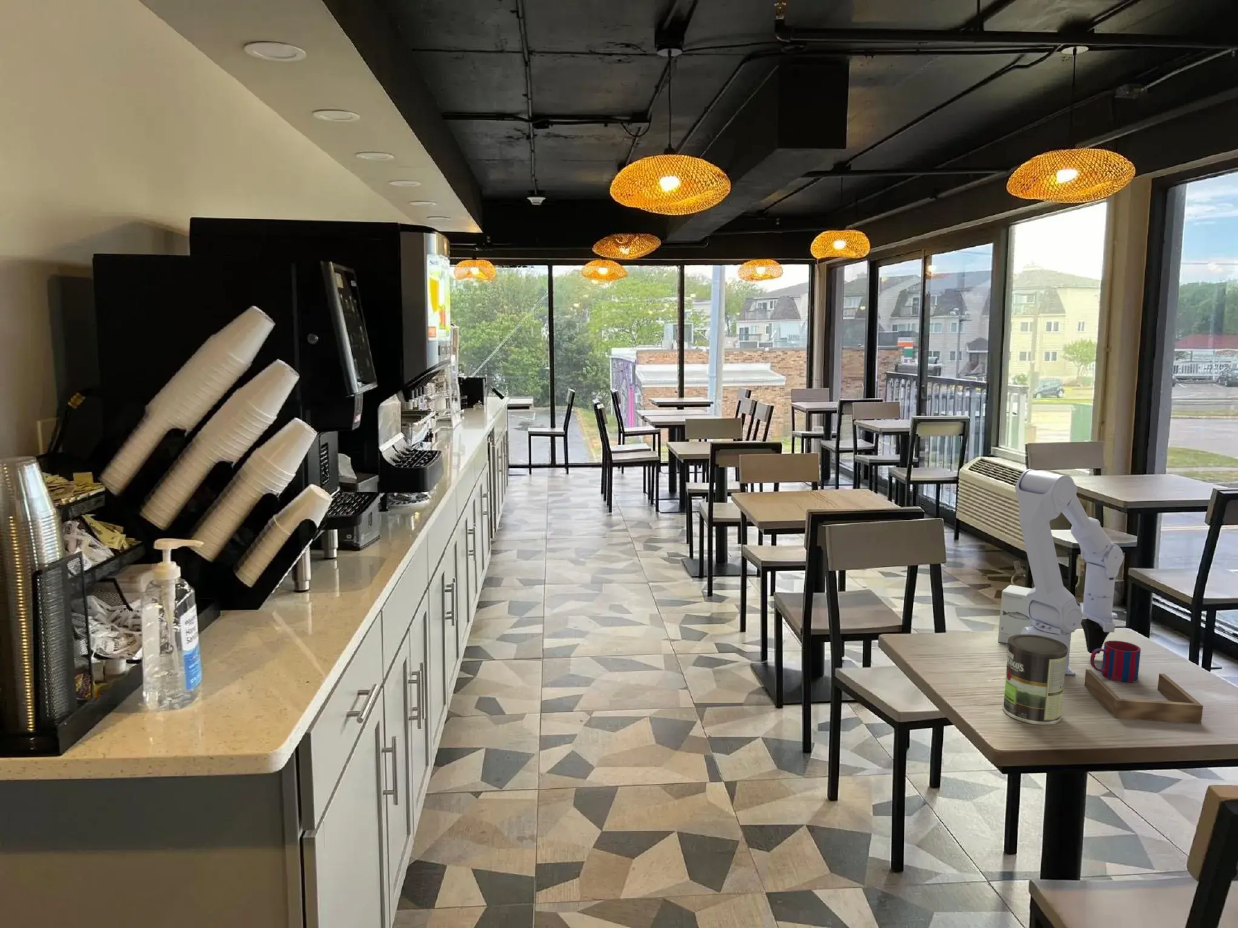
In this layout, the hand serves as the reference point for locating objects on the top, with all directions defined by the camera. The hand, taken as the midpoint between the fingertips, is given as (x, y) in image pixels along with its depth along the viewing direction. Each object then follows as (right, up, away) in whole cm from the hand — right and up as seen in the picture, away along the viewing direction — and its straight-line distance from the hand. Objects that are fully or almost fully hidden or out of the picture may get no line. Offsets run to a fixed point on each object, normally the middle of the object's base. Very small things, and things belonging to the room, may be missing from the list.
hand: (1093, 652), depth 193 cm
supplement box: (-12, 0, +11) cm, 16 cm away
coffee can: (-27, -6, -28) cm, 39 cm away
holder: (-4, -5, -23) cm, 24 cm away
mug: (-2, -3, -10) cm, 10 cm away
